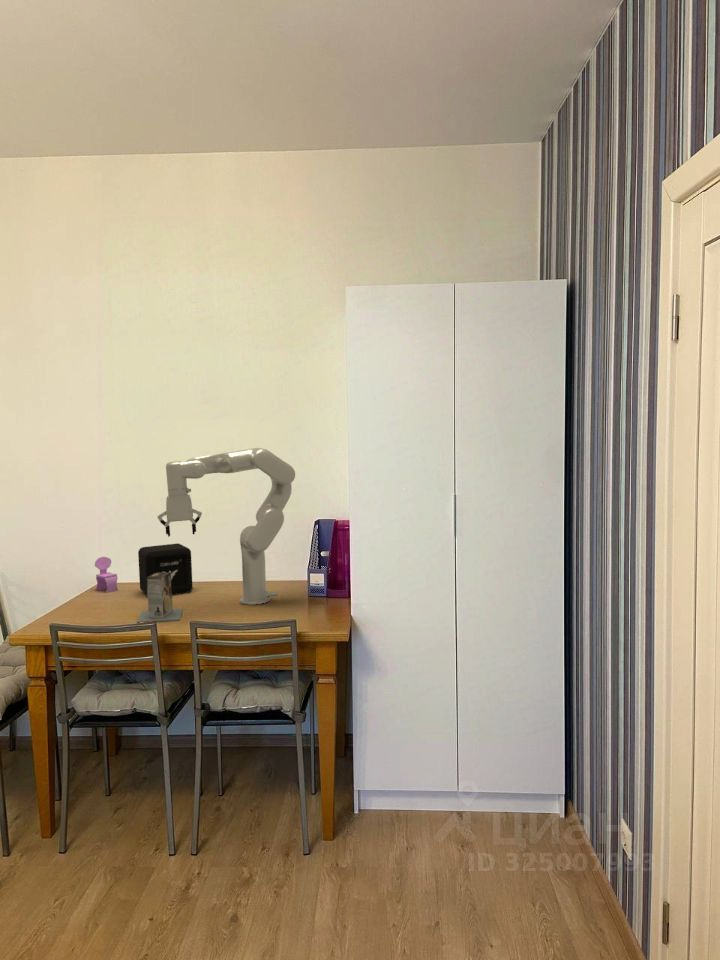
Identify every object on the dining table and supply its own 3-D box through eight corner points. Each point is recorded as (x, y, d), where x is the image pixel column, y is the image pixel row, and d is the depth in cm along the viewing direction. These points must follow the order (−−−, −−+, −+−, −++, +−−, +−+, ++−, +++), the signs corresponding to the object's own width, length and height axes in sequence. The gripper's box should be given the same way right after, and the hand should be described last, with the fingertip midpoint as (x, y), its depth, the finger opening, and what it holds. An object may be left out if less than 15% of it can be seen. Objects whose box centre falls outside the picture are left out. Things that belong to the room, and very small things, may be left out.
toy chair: (104, 593, 349) (102, 560, 348) (93, 591, 355) (91, 558, 353) (120, 590, 356) (118, 557, 354) (109, 587, 361) (107, 555, 360)
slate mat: (182, 609, 319) (182, 608, 319) (180, 620, 304) (180, 619, 303) (141, 612, 317) (141, 610, 317) (137, 623, 301) (137, 621, 301)
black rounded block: (147, 599, 338) (145, 552, 336) (139, 592, 351) (137, 547, 349) (194, 592, 348) (192, 547, 346) (184, 586, 361) (182, 542, 358)
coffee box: (157, 611, 315) (156, 571, 314) (173, 611, 314) (171, 572, 313) (148, 617, 306) (146, 577, 305) (163, 618, 305) (161, 577, 304)
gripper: (200, 489, 320) (203, 531, 322) (156, 493, 317) (159, 535, 319) (199, 491, 312) (203, 534, 314) (154, 495, 309) (158, 538, 311)
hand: (181, 534), depth 317 cm, fingers open, 9 cm apart
